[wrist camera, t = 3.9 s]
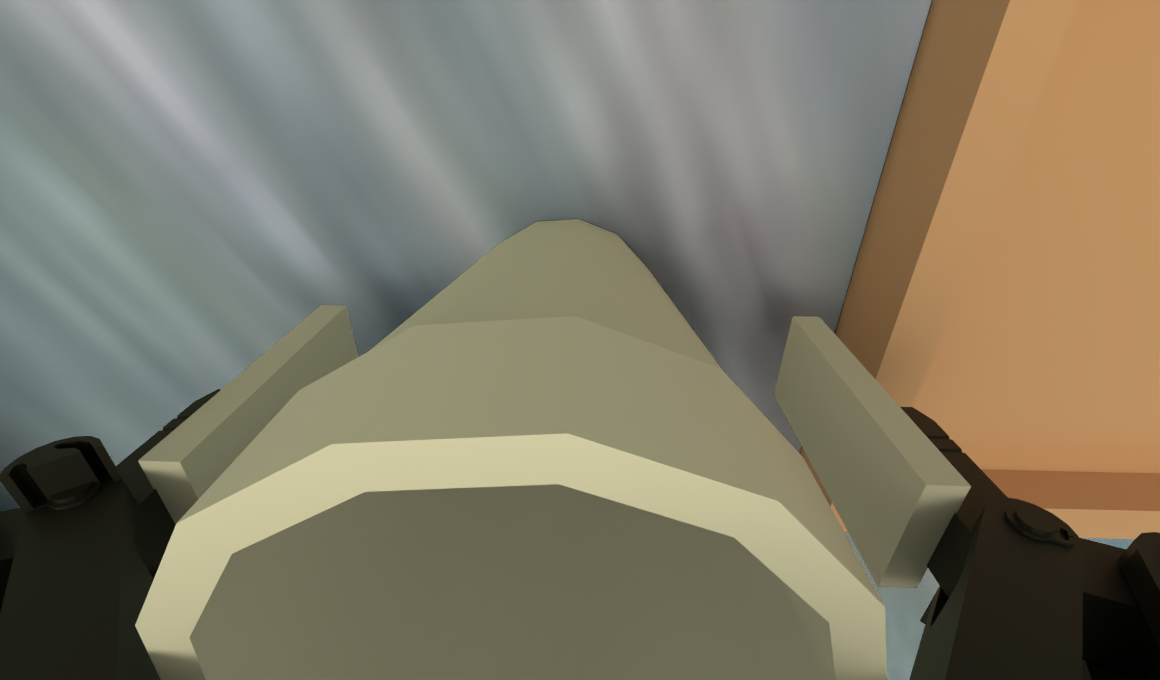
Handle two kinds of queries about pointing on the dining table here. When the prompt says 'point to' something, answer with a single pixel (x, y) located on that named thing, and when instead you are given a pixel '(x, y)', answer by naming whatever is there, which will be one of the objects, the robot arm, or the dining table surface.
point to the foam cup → (519, 505)
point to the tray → (1026, 253)
